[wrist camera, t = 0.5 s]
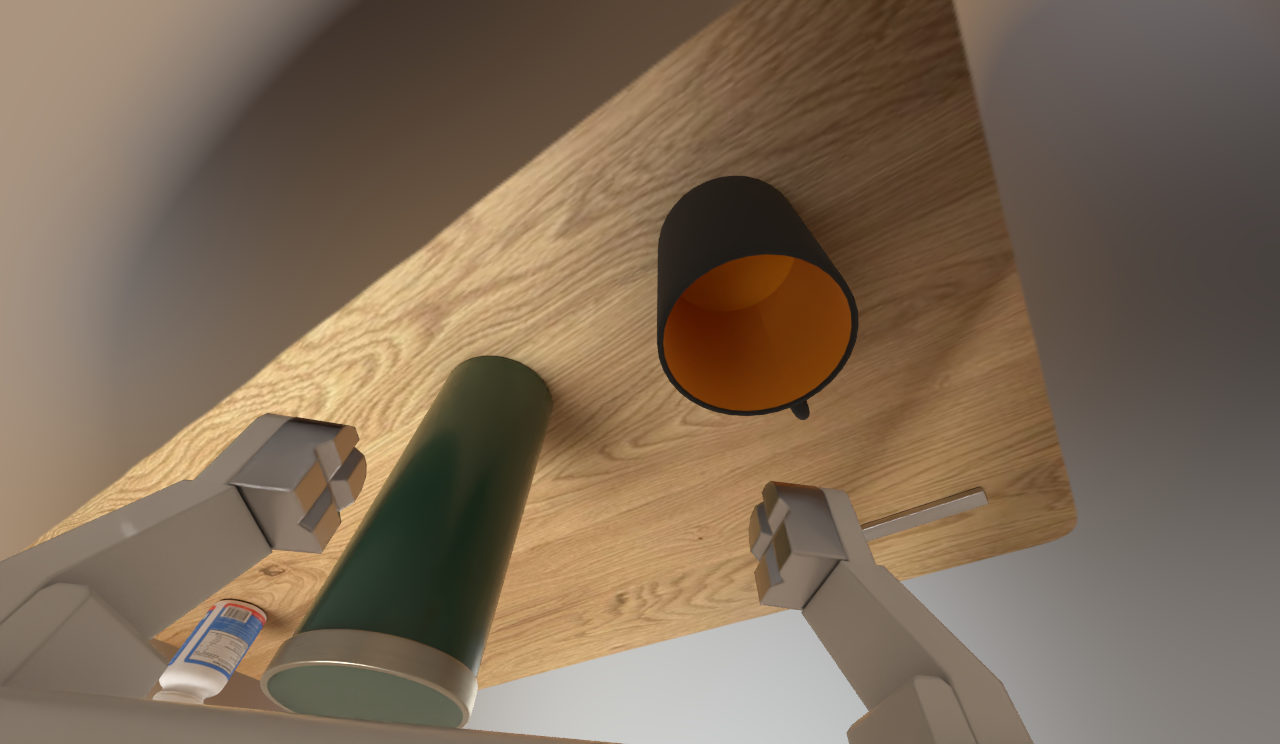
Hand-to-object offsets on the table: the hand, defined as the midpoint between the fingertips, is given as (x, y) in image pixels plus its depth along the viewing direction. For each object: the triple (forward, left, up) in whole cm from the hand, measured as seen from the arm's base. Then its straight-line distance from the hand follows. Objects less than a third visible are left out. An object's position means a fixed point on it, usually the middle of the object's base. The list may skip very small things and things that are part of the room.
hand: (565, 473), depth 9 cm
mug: (+5, +7, -21) cm, 23 cm away
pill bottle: (+52, -48, -21) cm, 73 cm away
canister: (+16, -10, -21) cm, 28 cm away
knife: (+30, +23, -21) cm, 43 cm away
